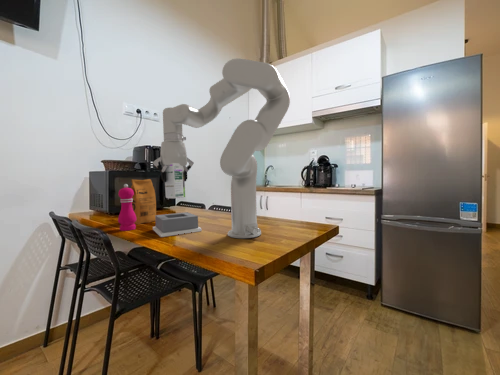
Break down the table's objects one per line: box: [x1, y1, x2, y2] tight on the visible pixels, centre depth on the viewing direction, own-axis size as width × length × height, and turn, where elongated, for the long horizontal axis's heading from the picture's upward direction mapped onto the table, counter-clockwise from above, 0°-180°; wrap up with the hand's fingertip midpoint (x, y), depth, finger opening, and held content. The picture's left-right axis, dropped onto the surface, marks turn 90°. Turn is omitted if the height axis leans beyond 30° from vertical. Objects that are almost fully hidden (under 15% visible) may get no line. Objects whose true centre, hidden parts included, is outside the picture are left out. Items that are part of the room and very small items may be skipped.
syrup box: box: [164, 163, 186, 199], centre depth 98 cm, size 6×6×14 cm
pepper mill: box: [117, 183, 137, 232], centre depth 103 cm, size 7×7×20 cm
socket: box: [152, 211, 202, 238], centre depth 99 cm, size 16×16×6 cm
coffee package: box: [130, 178, 157, 225], centre depth 120 cm, size 10×12×22 cm
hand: (174, 181), depth 98 cm, fingers closed on syrup box, 7 cm apart
